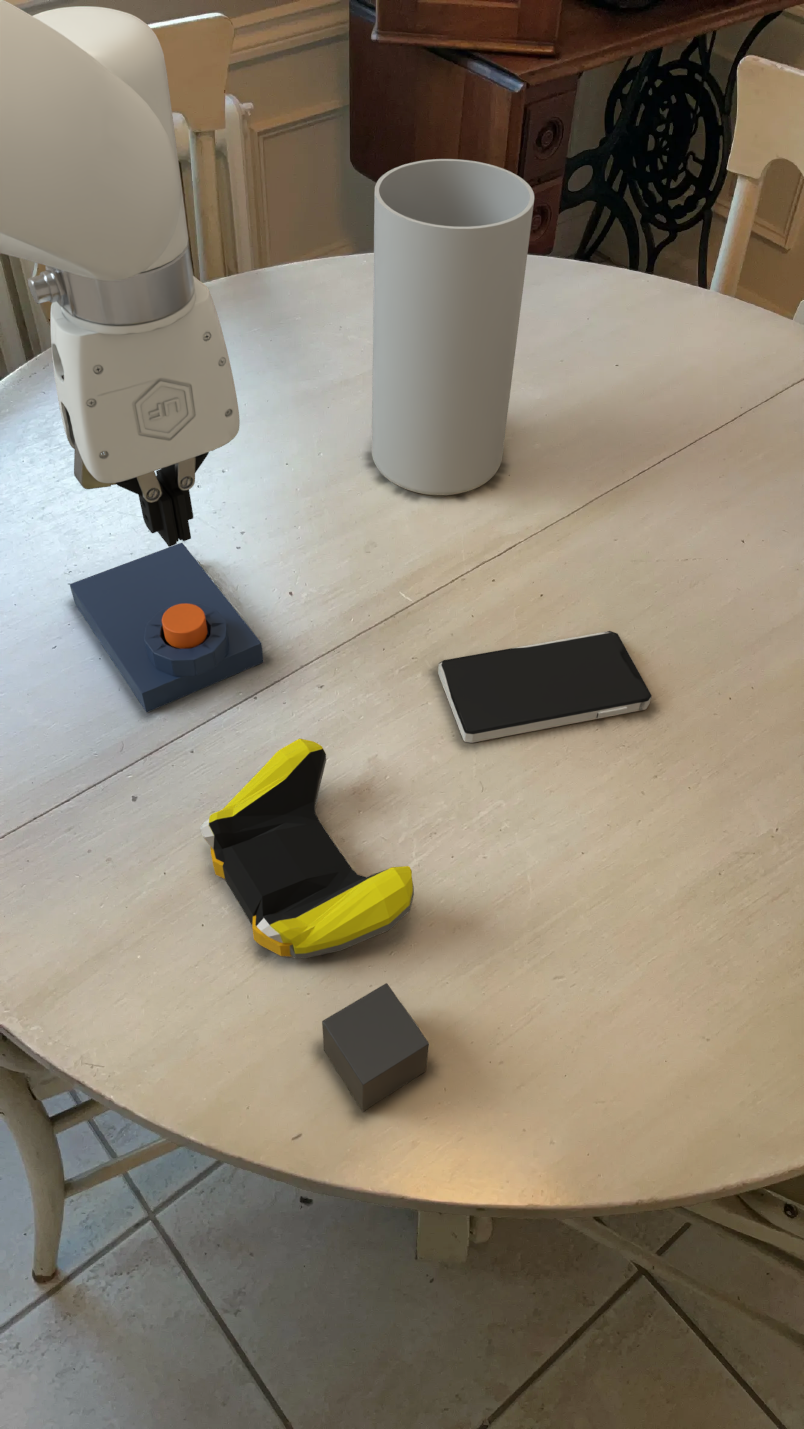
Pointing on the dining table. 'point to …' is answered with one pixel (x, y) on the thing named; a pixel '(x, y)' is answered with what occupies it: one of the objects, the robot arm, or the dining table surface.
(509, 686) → the smartphone
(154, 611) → the button base
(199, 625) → the power button
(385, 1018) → the block
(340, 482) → the dining table surface
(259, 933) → the gaming controller
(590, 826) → the dining table surface
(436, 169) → the cylinder vase
